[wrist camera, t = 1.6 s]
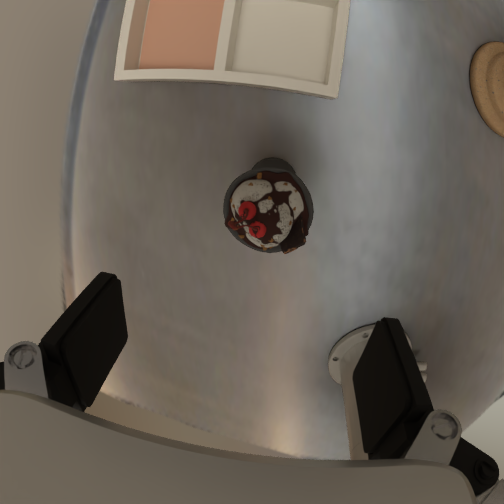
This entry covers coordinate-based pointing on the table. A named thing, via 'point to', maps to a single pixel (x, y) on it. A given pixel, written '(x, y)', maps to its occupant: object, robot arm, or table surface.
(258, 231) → the sundae
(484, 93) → the candle holder
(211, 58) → the carrier tray
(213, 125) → the table surface
